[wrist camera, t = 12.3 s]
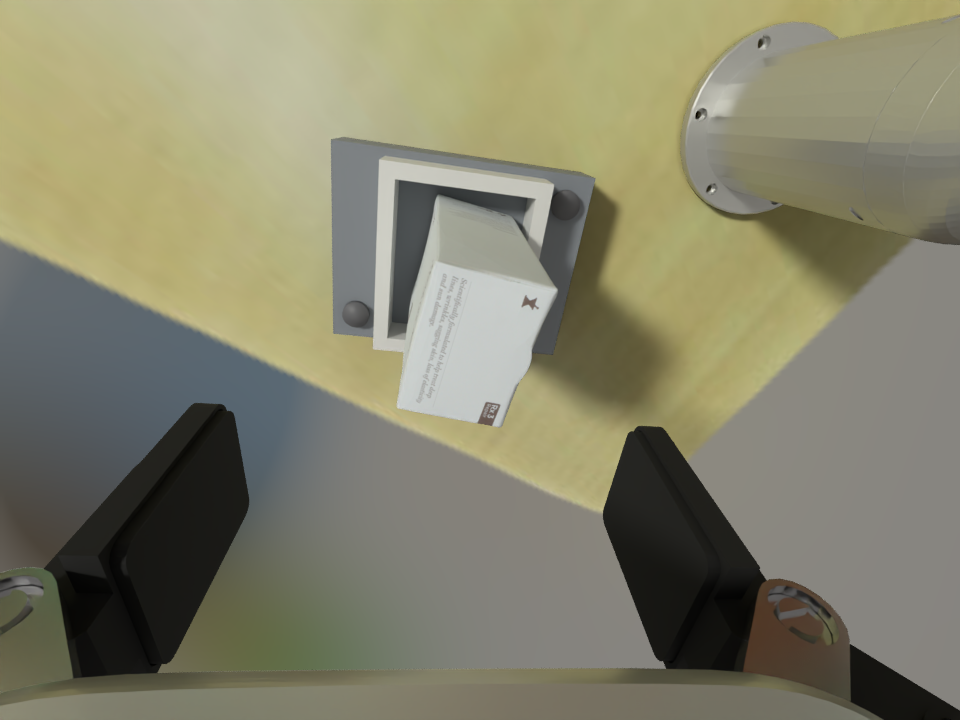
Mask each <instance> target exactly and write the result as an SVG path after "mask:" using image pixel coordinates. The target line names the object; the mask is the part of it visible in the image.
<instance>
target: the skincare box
mask: <svg viewBox="0 0 960 720" xmlns="http://www.w3.org/2000/svg"><path fill="white" fill-rule="evenodd" d="M557 294H558V289H557V288H556V287H555V286H554V284H553V282H552V281H551V279H550V278H549V276H548V274H547V273H546V271H545V270H544V268H543V266H542V265H541V263H540V261H539V260H538V258H537V256H536V255H535V253H534V252H533V250H532V248H531V247H530V245H529V243H528V242H527V240H526V239H525V237H524V235H523V234H522V232H521V230H520V229H519V227H518V225H517V224H516V222H515V220H514V219H513V217H511V216H509V215H506V214H503V213H499V212H496V211H493V210H490V209H487V208H483V207H480V206H477V205H473V204H470V203H467V202H463V201H460V200H457V199H454V198H450V197H447V196H444V195H441V194H438V195H437V197H436V200H435V204H434V212H433V217H432V222H431V226H430V230H429V235H428V239H427V243H426V247H425V251H424V255H423V259H422V262H421V266H420V269H419V273H418V276H417V279H416V282H415V285H414V288H413V291H412V295H411V301H410V308H409V316H408V324H407V331H406V339H405V347H404V355H403V368H402V375H401V380H400V388H399V395H398V400H397V408H399V409H404V410H408V411H413V412H418V413H423V414H429V415H434V416H440V417H446V418H451V419H456V420H462V421H467V422H472V423H479V424H485V425H490V426H495V427H502V425H503V422H504V419H505V417H506V414H507V412H508V409H509V406H510V403H511V401H512V398H513V396H514V393H515V391H516V388H517V386H518V384H519V381H520V380H521V379H522V378H523V377H524V376H525V374H526V372H527V371H528V368H529V366H530V363H531V360H532V349H533V347H534V344H535V342H536V339H537V337H538V334H539V332H540V329H541V327H542V325H543V322H544V320H545V318H546V316H547V314H548V312H549V310H550V308H551V307H552V305H553V303H554V301H555V299H556V297H557Z"/></svg>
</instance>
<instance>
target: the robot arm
mask: <svg viewBox="0 0 960 720" xmlns="http://www.w3.org/2000/svg"><path fill="white" fill-rule="evenodd" d="M758 41H759V46H758ZM696 112H698V117H697V118H695V115H696ZM680 154H681V160H682V166H683V170H684V173H685V175H686V178H687V180H688V183H689V184H690V186H691V187H692V188H693V190H694V191H695V193H696V194H697V195H698V196H699V197H700V198H701V199H702V200H704V201H705V202H706V203H708V204H709V205H711V206H713V207H715V208H717V209H720V210H723V211H726V212H729V213H735V214H742V215H745V214H758V213H762V212H766V211H770V210H773V209H775V208H777V207H780V206H782V205H784V204H785V205H789V206H792V207H796V208H800V209H804V210H808V211H812V212H816V213H819V214H823V215H827V216H831V217H835V218H839V219H843V220H846V221H850V222H854V223H858V224H862V225H866V226H869V227H873V228H877V229H881V230H885V231H889V232H893V233H896V234H900V235H904V236H908V237H912V238H916V239H920V240H924V241H929V242H934V243H941V244H952V245H960V14H959V15H954V16H949V17H944V18H939V19H934V20H929V21H924V22H919V23H914V24H910V25H905V26H900V27H895V28H890V29H885V30H880V31H875V32H870V33H865V34H860V35H855V36H850V37H845V38H840V39H839V38H838V37H837V36H836V35H834V34H833V33H832V32H830V31H829V30H827V29H826V28H824V27H821V26H818V25H815V24H812V23H807V22H788V23H782V24H776V25H773V26H770V27H766V28H763V29H760V30H758V31H756V32H754V33H752V34H750V35H748V36H746V37H744V38H742V39H741V40H739V41H738V42H737V43H735V44H734V45H733V46H731V47H730V48H729V49H727V50H726V51H725V52H724V53H723V54H722V55H721V56H720V57H719V58H718V59H717V60H716V61H715V62H714V63H713V64H712V66H711V67H710V68H709V70H708V71H707V72H706V74H705V75H704V77H703V78H702V79H701V81H700V82H699V84H698V86H697V88H696V90H695V92H694V94H693V96H692V97H691V99H690V102H689V105H688V108H687V111H686V113H685V116H684V120H683V126H682V131H681V144H680ZM708 186H709V188H708V190H707V191H706V189H707V187H708ZM248 506H249V495H248V489H247V484H246V478H245V473H244V467H243V462H242V456H241V450H240V444H239V439H238V433H237V428H236V423H235V417H234V414H233V413H232V412H231V411H227V410H226V407H225V406H224V405H222V404H205V403H194V404H193V405H191V406H190V407H189V408H188V410H187V411H186V412H185V413H184V414H183V415H182V416H181V417H180V418H179V420H178V421H177V422H176V423H175V424H174V425H173V426H172V428H171V429H170V430H169V431H168V432H167V433H166V434H165V435H164V436H163V438H162V439H161V440H160V441H159V442H158V443H157V444H156V446H155V447H154V448H153V449H152V450H151V451H150V452H149V453H148V455H147V456H146V457H145V458H144V459H143V460H142V461H141V462H140V463H139V464H138V465H137V466H136V467H135V468H133V470H132V471H131V472H130V473H129V474H128V475H127V476H126V477H125V479H124V480H123V481H122V482H121V483H120V484H119V485H118V486H117V488H116V489H115V490H114V491H113V492H112V493H111V494H110V495H109V496H108V498H107V499H106V500H105V501H104V502H103V503H102V504H101V506H100V507H99V508H98V509H97V510H96V511H95V512H94V513H93V514H92V515H91V516H90V518H89V519H88V520H87V521H86V522H85V523H84V524H83V525H82V527H81V528H80V529H79V530H78V531H77V532H76V533H75V534H74V535H73V537H72V538H71V539H70V540H69V541H68V542H67V543H66V545H65V546H64V547H63V548H62V549H61V550H60V551H59V552H58V553H57V554H56V556H55V557H54V558H53V559H52V560H51V561H50V562H49V563H48V565H47V566H46V567H45V568H44V569H42V568H32V567H26V568H19V569H12V570H9V571H5V572H2V573H0V720H960V711H959V710H958V709H956V708H954V707H953V706H951V705H950V704H948V703H946V702H945V701H943V700H941V699H940V698H938V697H937V696H935V695H933V694H931V693H930V692H928V691H927V690H925V689H923V688H922V687H920V686H918V685H917V684H915V683H913V682H912V681H910V680H908V679H907V678H905V677H903V676H902V675H900V674H899V673H897V672H895V671H894V670H892V669H890V668H889V667H887V666H885V665H884V664H882V663H880V662H879V661H877V660H875V659H874V658H872V657H871V656H869V655H867V654H866V653H864V652H862V651H861V650H859V649H857V648H856V647H854V646H852V645H851V644H850V639H849V635H848V631H847V628H846V626H845V624H844V622H843V621H842V619H841V617H840V616H839V615H838V614H837V613H836V611H835V610H834V609H833V608H832V607H831V605H829V604H828V603H827V602H826V601H825V600H823V599H822V598H821V597H820V596H819V595H817V594H816V593H814V592H812V591H811V590H809V589H808V588H806V587H804V586H802V585H799V584H797V583H795V582H793V581H788V580H784V579H769V580H766V579H765V578H764V576H763V574H762V573H761V572H760V570H759V569H760V567H759V565H758V564H757V562H756V561H755V559H754V558H753V557H752V555H751V554H750V552H749V551H748V549H747V548H746V546H745V545H744V544H743V542H742V541H741V539H740V538H739V536H738V535H737V534H736V532H735V531H734V529H733V528H732V527H731V525H730V523H729V522H728V520H727V519H726V518H725V516H724V515H723V513H722V512H721V510H720V509H719V507H718V506H717V505H716V503H715V502H714V500H713V499H712V497H711V496H710V495H709V493H708V492H707V490H706V489H705V487H704V486H703V484H702V483H701V481H700V480H699V479H698V477H697V476H696V474H695V473H694V471H693V470H692V469H691V467H690V466H689V464H688V463H687V461H686V460H685V458H684V457H683V455H682V454H681V453H680V451H679V450H678V448H677V447H676V445H675V444H674V442H673V441H672V440H671V438H670V437H669V435H668V434H667V432H666V431H665V430H664V429H663V428H662V427H651V426H638V427H637V428H636V429H635V430H634V431H631V432H629V433H628V435H627V438H626V441H625V444H624V447H623V451H622V454H621V457H620V460H619V463H618V466H617V469H616V472H615V475H614V478H613V482H612V485H611V488H610V491H609V494H608V497H607V500H606V503H605V506H604V510H603V520H604V524H605V527H606V530H607V533H608V535H609V538H610V540H611V543H612V546H613V548H614V551H615V553H616V556H617V559H618V561H619V563H620V567H621V569H622V572H623V574H624V577H625V579H626V582H627V585H628V587H629V590H630V593H631V595H632V598H633V600H634V603H635V606H636V608H637V611H638V613H639V616H640V619H641V621H642V624H643V626H644V629H645V631H646V634H647V637H648V639H649V642H650V645H651V647H652V650H653V652H654V655H655V656H656V658H657V659H658V660H659V661H663V662H664V664H665V667H666V669H637V668H608V669H607V668H591V669H590V668H586V669H585V668H579V669H578V668H574V669H573V668H569V669H568V668H565V669H562V668H561V669H560V668H558V669H384V670H379V669H378V670H295V671H294V670H291V671H218V672H183V673H157V672H158V670H159V668H160V666H161V664H167V663H168V662H170V661H171V660H172V659H173V657H174V655H175V654H176V652H177V650H178V648H179V646H180V644H181V642H182V640H183V638H184V636H185V634H186V632H187V630H188V628H189V626H190V624H191V622H192V620H193V618H194V616H195V614H196V612H197V610H198V608H199V606H200V604H201V602H202V601H203V598H204V596H205V595H206V593H207V591H208V589H209V587H210V585H211V583H212V581H213V579H214V576H215V575H216V573H217V571H218V569H219V567H220V565H221V563H222V561H223V559H224V557H225V555H226V553H227V551H228V549H229V547H230V545H231V543H232V541H233V539H234V537H235V536H236V534H237V532H238V530H239V528H240V525H241V524H242V522H243V520H244V518H245V516H246V513H247V511H248Z"/></svg>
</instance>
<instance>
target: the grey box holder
mask: <svg viewBox="0 0 960 720" xmlns="http://www.w3.org/2000/svg"><path fill="white" fill-rule="evenodd" d="M331 180H332V260H333V334H343V335H353V336H364V337H373V349H376V350H387V351H397V352H404V347H405V339H406V331H407V324H408V316H409V308H410V301H411V295H412V291H413V288H414V285H415V282H416V279H417V276H418V273H419V269H420V266H421V262H422V259H423V255H424V251H425V247H426V243H427V239H428V235H429V230H430V226H431V222H432V217H433V212H434V204H435V200H436V197H437V195H438V194H441V195H444V196H447V197H450V198H454V199H457V200H460V201H463V202H467V203H470V204H473V205H477V206H480V207H483V208H487V209H490V210H493V211H496V212H499V213H503V214H506V215H509V216H511V217H513V219H514V220H515V222H516V224H517V225H518V227H519V229H520V230H521V232H522V234H523V235H524V237H525V239H526V240H527V242H528V243H529V245H530V247H531V248H532V250H533V252H534V253H535V255H536V256H537V258H538V260H539V261H540V263H541V265H542V266H543V268H544V270H545V271H546V273H547V274H548V276H549V278H550V279H551V281H552V282H553V284H554V286H555V287H556V288H557V289H558V294H557V297H556V299H555V301H554V303H553V305H552V307H551V308H550V310H549V312H548V314H547V316H546V318H545V320H544V322H543V325H542V327H541V329H540V332H539V334H538V337H537V339H536V342H535V344H534V347H533V349H532V353H539V354H550V355H553V353H554V348H555V344H556V340H557V336H558V332H559V328H560V323H561V319H562V315H563V311H564V307H565V303H566V299H567V294H568V290H569V286H570V282H571V278H572V274H573V270H574V265H575V261H576V257H577V253H578V249H579V245H580V240H581V236H582V232H583V228H584V224H585V220H586V216H587V211H588V207H589V203H590V199H591V195H592V191H593V187H594V182H595V178H593V177H591V176H589V175H586V174H584V173H581V172H576V171H569V170H562V169H555V168H549V167H542V166H535V165H528V164H522V163H515V162H508V161H501V160H495V159H488V158H481V157H474V156H468V155H461V154H454V153H447V152H441V151H434V150H427V149H420V148H414V147H407V146H400V145H393V144H387V143H380V142H373V141H366V140H360V139H353V138H346V137H341V138H336V139H331Z"/></svg>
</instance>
